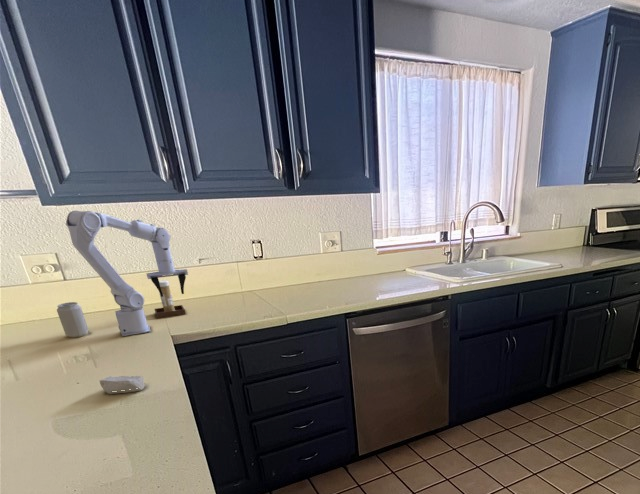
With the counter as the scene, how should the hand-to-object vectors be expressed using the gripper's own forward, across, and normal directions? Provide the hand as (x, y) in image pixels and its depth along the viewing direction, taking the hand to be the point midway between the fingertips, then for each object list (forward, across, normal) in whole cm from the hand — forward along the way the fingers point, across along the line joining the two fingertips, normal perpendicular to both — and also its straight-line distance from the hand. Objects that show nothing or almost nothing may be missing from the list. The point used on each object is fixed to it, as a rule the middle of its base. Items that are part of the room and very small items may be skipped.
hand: (172, 294), depth 171 cm
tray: (+10, +2, -12) cm, 16 cm away
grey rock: (+11, +20, +65) cm, 69 cm away
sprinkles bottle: (+10, +2, -12) cm, 16 cm away
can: (+11, +35, 0) cm, 37 cm away
